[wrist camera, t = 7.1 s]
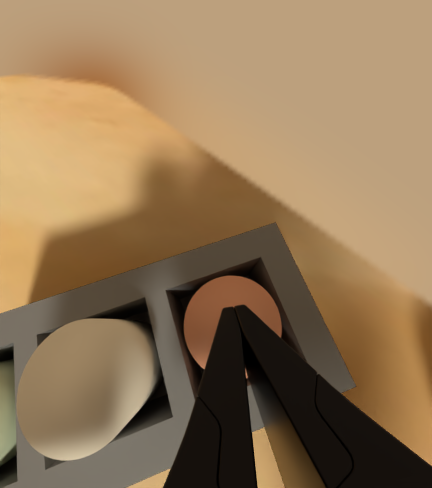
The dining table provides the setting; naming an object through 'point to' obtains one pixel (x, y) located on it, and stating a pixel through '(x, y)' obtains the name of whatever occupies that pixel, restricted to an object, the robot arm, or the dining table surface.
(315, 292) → the dining table surface
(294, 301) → the tray
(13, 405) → the sage button
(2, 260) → the dining table surface
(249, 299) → the terracotta button
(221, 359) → the robot arm
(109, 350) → the cream rounded egg shape
